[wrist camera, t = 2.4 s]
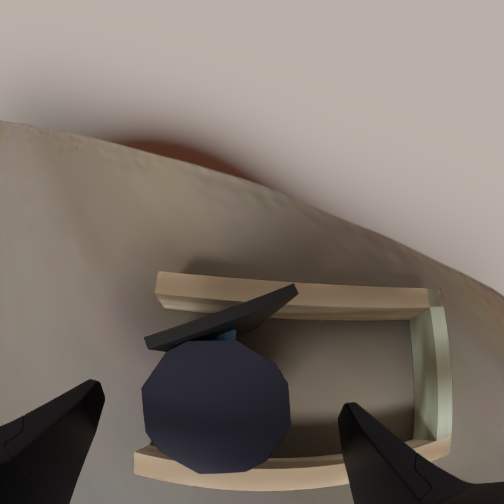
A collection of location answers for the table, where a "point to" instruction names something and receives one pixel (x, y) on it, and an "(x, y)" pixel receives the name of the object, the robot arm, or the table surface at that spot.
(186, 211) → the table surface
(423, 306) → the channel
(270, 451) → the dark cylinder with backplate
